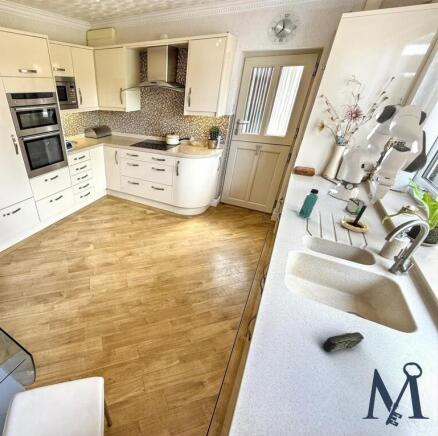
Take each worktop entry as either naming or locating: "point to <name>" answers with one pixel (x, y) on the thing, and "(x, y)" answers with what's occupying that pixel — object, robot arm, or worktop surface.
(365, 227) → the ring
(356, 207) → the food container
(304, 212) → the beverage bottle
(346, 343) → the dark elongated rock
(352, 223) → the post
